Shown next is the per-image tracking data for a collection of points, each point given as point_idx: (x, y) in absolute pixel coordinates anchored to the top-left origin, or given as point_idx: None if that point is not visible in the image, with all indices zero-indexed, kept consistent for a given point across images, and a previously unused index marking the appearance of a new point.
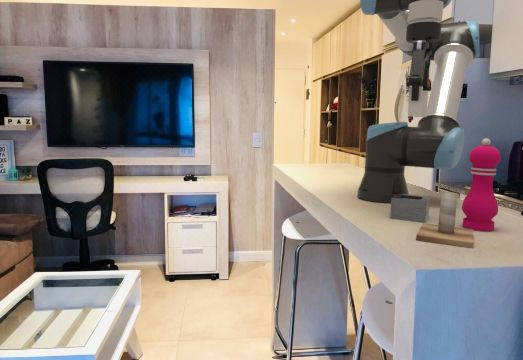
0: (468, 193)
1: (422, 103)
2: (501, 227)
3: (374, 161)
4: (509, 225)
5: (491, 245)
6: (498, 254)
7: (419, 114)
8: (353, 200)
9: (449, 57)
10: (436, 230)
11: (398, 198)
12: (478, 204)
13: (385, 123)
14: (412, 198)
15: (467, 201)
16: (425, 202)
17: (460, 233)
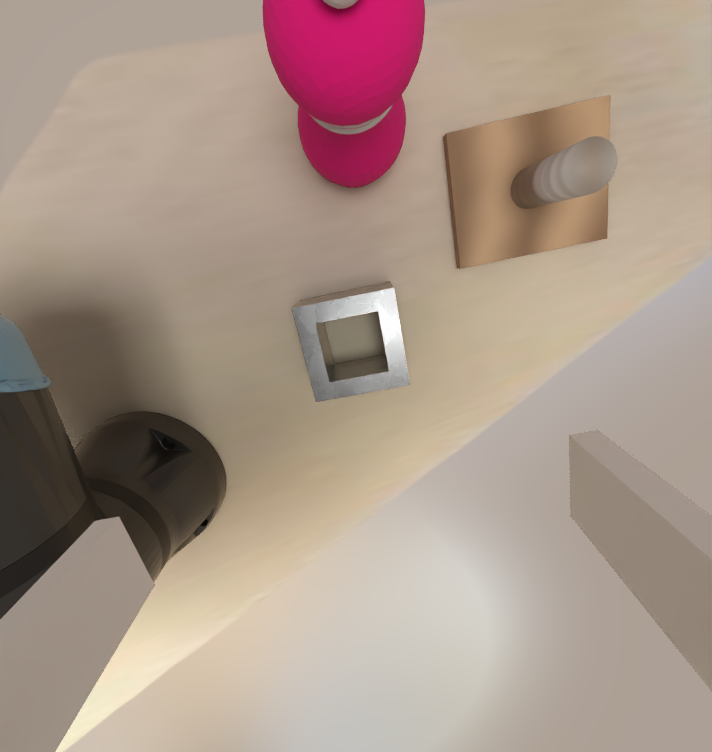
0: (367, 154)
1: (41, 666)
2: None
3: (151, 574)
4: (241, 66)
5: (544, 63)
6: (630, 27)
7: (608, 443)
8: (248, 514)
9: None
10: (524, 213)
11: (404, 366)
12: (403, 113)
13: None
14: (323, 350)
15: (391, 155)
16: (394, 290)
17: (522, 151)
